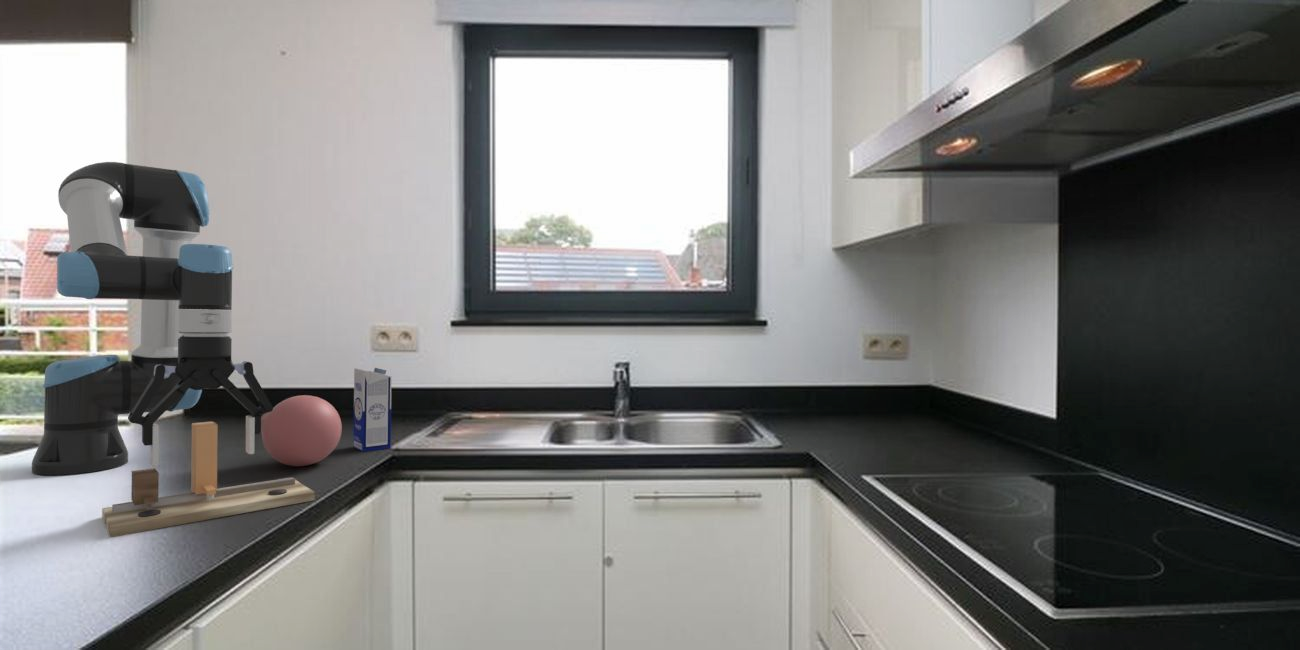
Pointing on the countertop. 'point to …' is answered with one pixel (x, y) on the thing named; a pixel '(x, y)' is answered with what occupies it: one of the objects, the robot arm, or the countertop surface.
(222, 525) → the countertop surface
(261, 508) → the wooden slotted board
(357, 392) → the milk carton
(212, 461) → the orange wooden block
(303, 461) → the balloon
